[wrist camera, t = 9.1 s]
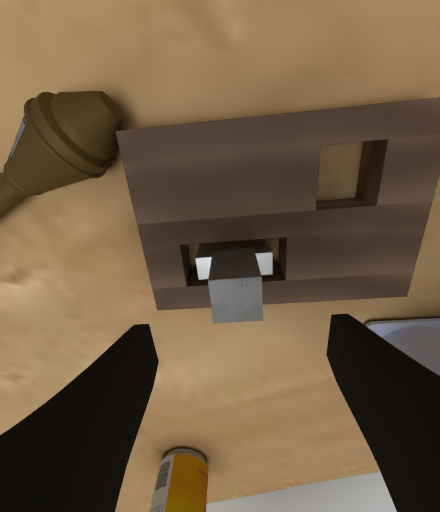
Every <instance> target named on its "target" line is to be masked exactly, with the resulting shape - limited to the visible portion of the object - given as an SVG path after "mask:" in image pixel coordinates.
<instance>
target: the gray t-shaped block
mask: <svg viewBox="0 0 440 512" xmlns="http://www.w3.org/2000/svg"><path fill="white" fill-rule="evenodd" d="M195 259H196V266H197V272H198V279H199V280H201V279H208V284H209V291H210V299H211V306H212V313H213V321H214V323H227V322H244V321H260V320H263V300H262V276H261V275H270V274H273V263H272V250H271V248H270V246H269V244H268V242H267V239H253V240H239V241H226V242H212V243H200V245H199V248H198V251H197V255H196V258H195Z"/></svg>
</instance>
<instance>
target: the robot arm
mask: <svg viewBox="0 0 440 512" xmlns="http://www.w3.org/2000/svg"><path fill="white" fill-rule="evenodd" d="M327 357H328V360H329V363H330V366H331V369H332V371H333V374H334V376H335V379H336V382H337V384H338V386H339V388H340V390H341V392H342V394H343V396H344V398H345V400H346V402H347V404H348V406H349V408H350V410H351V412H352V414H353V416H354V418H355V420H356V422H357V423H358V425H359V427H360V429H361V431H362V433H363V435H364V437H365V439H366V441H367V443H368V445H369V447H370V449H371V451H372V454H373V456H374V458H375V460H376V462H377V464H378V466H379V469H380V471H381V474H382V476H383V478H384V481H385V483H386V486H387V488H388V491H389V493H390V496H391V498H392V500H393V503H394V505H395V508H396V510H397V512H440V318H431V319H411V320H391V321H372V322H368V323H367V324H366V325H363V324H362V323H361V322H359V321H358V320H356V319H355V318H353V317H352V316H350V315H349V314H334V315H331V323H330V331H329V339H328V347H327ZM158 362H159V361H158V357H157V353H156V350H155V346H154V342H153V338H152V334H151V330H150V326H149V324H139V325H133V326H132V327H131V328H130V329H129V330H128V331H127V332H126V333H125V334H123V335H122V336H121V337H120V338H119V339H118V340H117V341H116V342H115V343H114V344H113V345H112V346H111V347H110V348H109V349H107V350H106V351H105V352H104V353H103V354H102V355H101V356H100V357H99V358H98V359H97V360H96V361H94V362H93V363H92V364H91V365H90V366H89V367H88V368H87V369H85V370H84V371H83V372H82V373H81V374H80V375H78V376H77V377H76V378H75V379H74V380H73V381H71V382H70V383H69V384H68V385H67V386H66V387H64V388H63V389H62V390H61V391H60V392H58V393H57V394H56V395H55V396H53V397H52V398H51V399H50V400H48V401H47V402H46V403H45V404H43V405H42V406H41V407H39V408H38V409H37V410H35V411H34V412H33V413H31V414H30V415H29V416H27V417H26V418H25V419H23V420H22V421H20V422H19V423H18V424H16V425H15V426H13V427H12V428H10V429H9V430H8V431H6V432H5V433H3V434H2V435H0V512H115V509H116V505H117V501H118V497H119V493H120V489H121V485H122V481H123V478H124V474H125V470H126V466H127V463H128V460H129V457H130V453H131V450H132V447H133V445H134V442H135V439H136V436H137V433H138V430H139V427H140V424H141V421H142V418H143V416H144V413H145V410H146V407H147V404H148V401H149V398H150V395H151V392H152V389H153V385H154V381H155V376H156V372H157V367H158Z"/></svg>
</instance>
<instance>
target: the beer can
mask: <svg viewBox="0 0 440 512" xmlns="http://www.w3.org/2000/svg"><path fill="white" fill-rule="evenodd" d="M207 485H208V466H207V464H206V462H205V459H204V457H203V456H202V455H201V454H200V453H198V452H196V451H194V450H190V449H176V450H173V451H171V452H169V453H168V454H167V455H166V457H165V458H164V459H163V460H162V461H161V463H160V466H159V471H158V475H157V480H156V484H155V489H154V494H153V498H152V503H151V507H150V512H206V502H207Z"/></svg>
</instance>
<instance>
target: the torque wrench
mask: <svg viewBox="0 0 440 512" xmlns="http://www.w3.org/2000/svg"><path fill="white" fill-rule="evenodd" d="M24 113H25V115H24V117H23V120H22V123H21V125H20V128H19V131H18V133H17V136H16V139H15V141H14V144H13V147H12V149H11V152H10V155H9V157H8V160H7V163H5V165H4V172H3V173H1V174H0V218H1V217H2V216H3V215H5V214H6V213H7V212H8V211H10V210H11V209H12V208H13V207H15V206H16V205H17V204H18V203H19V202H21V201H22V200H23V199H24V198H26V197H27V196H28V195H39V194H42V193H44V192H47V191H50V190H53V189H56V188H60V187H63V186H66V185H69V184H72V183H76V182H79V181H82V180H85V179H88V178H99V177H101V176H102V175H104V174H105V171H106V169H108V168H109V167H110V166H111V165H112V155H113V154H114V152H115V148H116V145H117V141H118V140H117V136H116V132H115V131H120V130H121V126H122V122H123V116H122V114H121V112H120V110H119V109H118V107H117V106H116V104H115V103H114V102H113V101H112V99H111V98H110V97H109V96H108V95H106V94H105V93H104V92H102V91H86V92H59V93H57V94H53V93H50V92H42V93H40V94H39V95H38V96H37V97H36V98H31V99H29V100H27V101H26V103H25V105H24Z"/></svg>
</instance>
